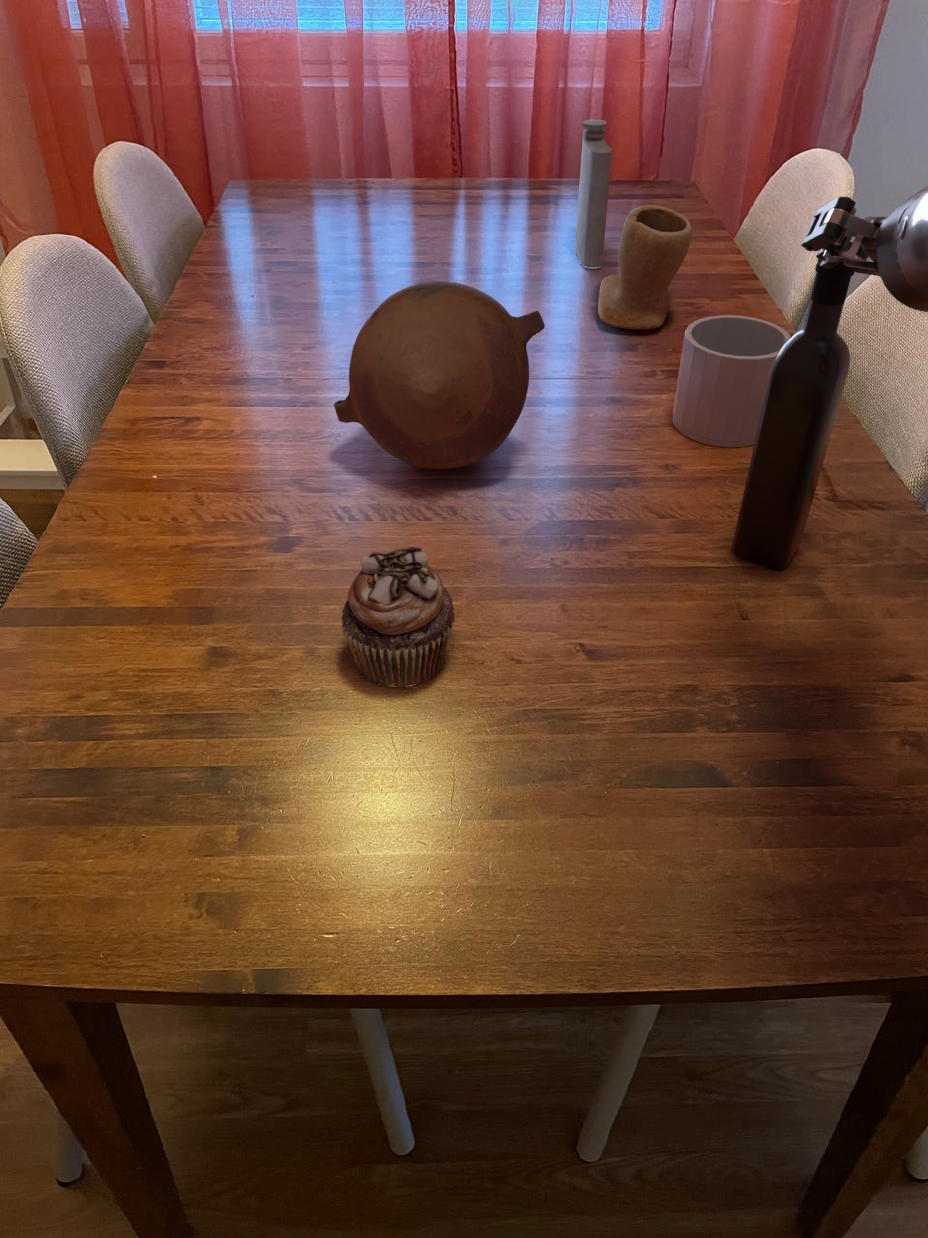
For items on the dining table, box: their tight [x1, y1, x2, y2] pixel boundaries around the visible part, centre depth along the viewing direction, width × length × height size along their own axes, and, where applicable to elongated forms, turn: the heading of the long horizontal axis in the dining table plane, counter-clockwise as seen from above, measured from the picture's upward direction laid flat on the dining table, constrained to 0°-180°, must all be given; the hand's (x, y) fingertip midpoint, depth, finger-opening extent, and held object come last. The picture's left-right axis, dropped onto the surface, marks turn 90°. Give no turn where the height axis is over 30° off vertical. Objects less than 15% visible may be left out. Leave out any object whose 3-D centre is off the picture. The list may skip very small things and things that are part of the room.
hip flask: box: [574, 119, 613, 267], centre depth 152 cm, size 16×4×20 cm, turn 179°
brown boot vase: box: [597, 204, 693, 331], centre depth 134 cm, size 15×12×15 cm
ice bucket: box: [671, 314, 792, 448], centre depth 111 cm, size 12×12×11 cm
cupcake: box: [340, 546, 456, 688], centre depth 80 cm, size 10×10×10 cm
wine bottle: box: [730, 241, 856, 570], centre depth 85 cm, size 6×6×30 cm
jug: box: [333, 280, 546, 470], centre depth 107 cm, size 20×20×30 cm
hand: (882, 275), depth 71 cm, fingers open, 8 cm apart
